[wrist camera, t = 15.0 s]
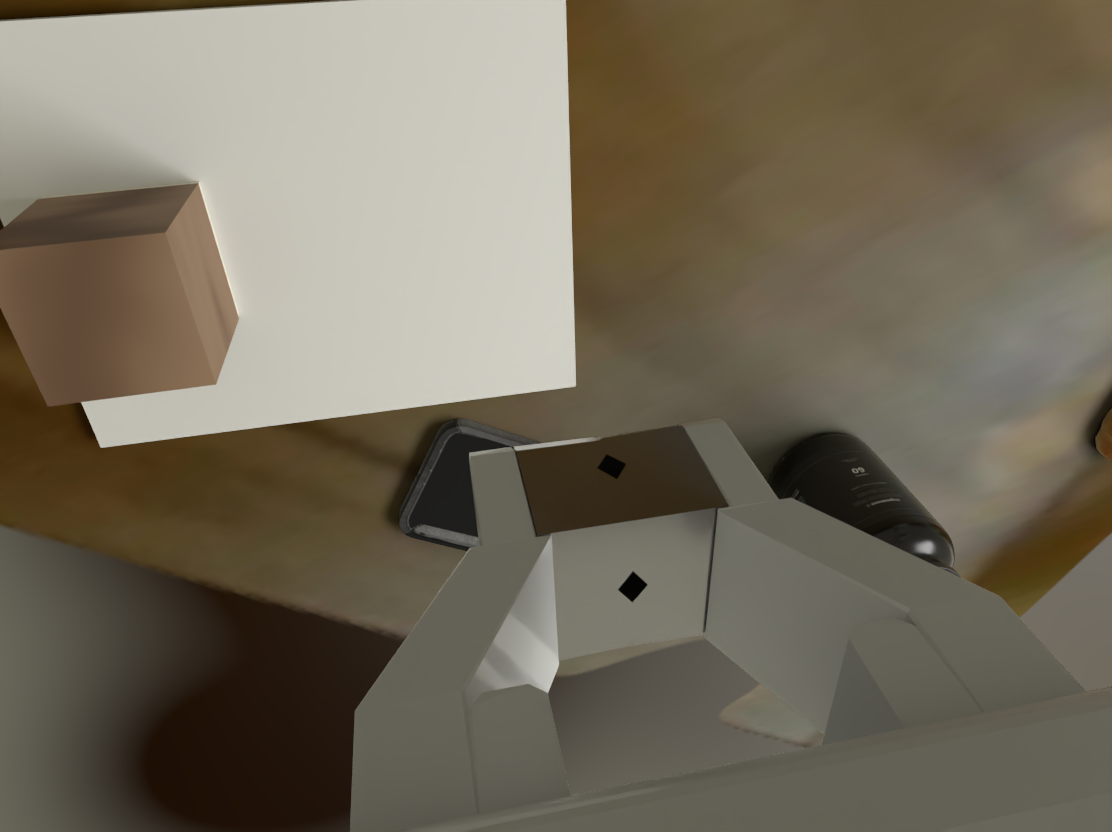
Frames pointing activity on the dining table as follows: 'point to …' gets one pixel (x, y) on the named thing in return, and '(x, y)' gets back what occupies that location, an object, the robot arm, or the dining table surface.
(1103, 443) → the pastry
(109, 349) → the walnut cube
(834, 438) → the supplement bottle
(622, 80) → the dining table surface
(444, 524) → the phone
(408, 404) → the white mat
